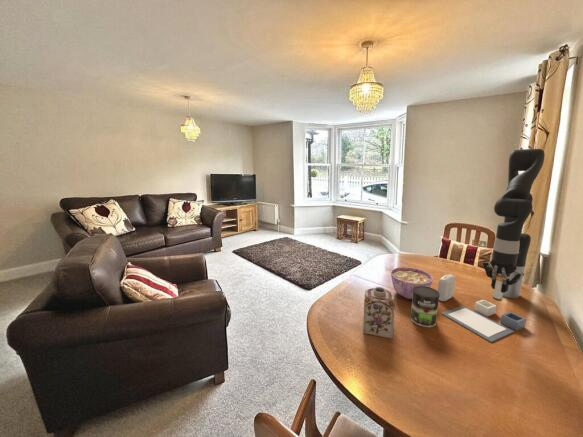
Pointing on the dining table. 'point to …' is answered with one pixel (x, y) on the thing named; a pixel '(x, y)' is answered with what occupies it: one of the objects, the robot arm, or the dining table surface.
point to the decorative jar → (379, 312)
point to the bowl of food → (409, 280)
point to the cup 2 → (513, 321)
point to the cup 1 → (485, 307)
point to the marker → (498, 288)
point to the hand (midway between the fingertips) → (498, 290)
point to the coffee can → (424, 306)
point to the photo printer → (446, 287)
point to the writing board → (478, 323)
